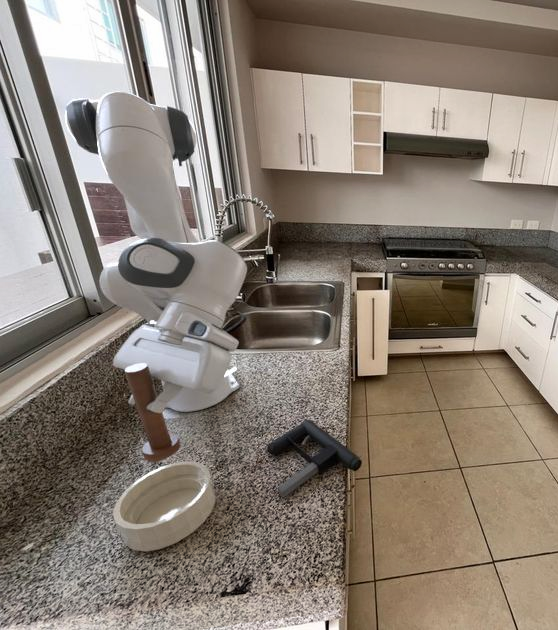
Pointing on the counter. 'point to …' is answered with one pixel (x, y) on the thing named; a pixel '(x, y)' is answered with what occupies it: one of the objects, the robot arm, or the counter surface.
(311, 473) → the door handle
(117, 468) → the counter surface
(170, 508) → the bowl
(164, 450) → the stirring stick
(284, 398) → the counter surface
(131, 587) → the counter surface
